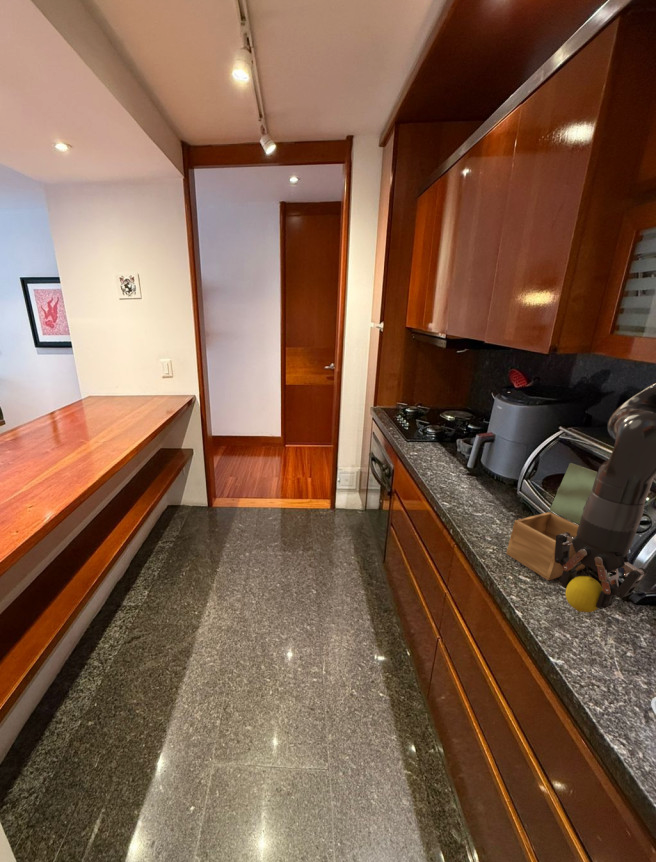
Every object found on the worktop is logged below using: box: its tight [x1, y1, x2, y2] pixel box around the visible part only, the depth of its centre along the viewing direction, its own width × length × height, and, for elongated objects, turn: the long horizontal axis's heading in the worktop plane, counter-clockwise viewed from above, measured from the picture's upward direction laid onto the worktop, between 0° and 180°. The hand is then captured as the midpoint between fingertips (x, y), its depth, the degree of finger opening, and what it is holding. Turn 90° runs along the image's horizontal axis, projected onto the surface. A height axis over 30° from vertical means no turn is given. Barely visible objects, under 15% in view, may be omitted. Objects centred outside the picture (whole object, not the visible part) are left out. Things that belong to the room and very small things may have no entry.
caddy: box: [505, 511, 586, 581], centre depth 97 cm, size 13×12×10 cm
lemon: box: [565, 575, 603, 613], centre depth 73 cm, size 6×6×8 cm
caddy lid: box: [549, 462, 598, 525], centre depth 95 cm, size 13×12×1 cm
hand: (583, 596), depth 74 cm, fingers closed on lemon, 5 cm apart
